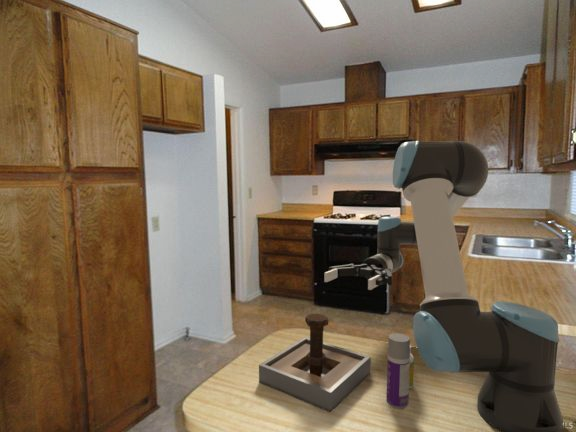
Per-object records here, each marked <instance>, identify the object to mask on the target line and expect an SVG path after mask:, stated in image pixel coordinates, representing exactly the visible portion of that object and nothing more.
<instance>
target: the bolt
mask: <svg viewBox="0 0 576 432" xmlns="http://www.w3.org/2000/svg"><path fill="white" fill-rule="evenodd" d="M304 320H305V322H304V323H306V325H307V327H309V338H310V352H309V353H308V354H307V362H308V363H309V364H310V373H311V374H314V375H316V376H319V377H320V376H321V374H322V365H323V364H324V363H325V362H326V356H325V354H324V353H323V342H324V329H325V328H324V327H326V326H328V325H329V318H328V316H327V315H325V314H323V313H309V314H307V315H306V316H305V319H304Z"/></svg>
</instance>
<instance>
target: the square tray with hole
mask: <svg viewBox="0 0 576 432" xmlns="http://www.w3.org/2000/svg"><path fill="white" fill-rule="evenodd" d="M309 352H310V344H309V343H305V344H303V345H302V346H300V347H298V348H297V349H295V350H294V351H292V352H290V353H289V354H287V355H286V356H284V357H282V358H281V359H279V360H278V361H276V362H275V363H273V364H271V365H270V367H273V368H275V369H278V370H280V371H283V372H286V373H288V374H291V375H294V376H296V377H299V378H301V379H304V380H307V381H309V382H312V383H315V384H317V385H320V386H322V387H325V388H328V389H330V388H331V387H332V386H333V385H334V384H335V383H337V382H338V381H339V380H340V379H341V378H342V377H343V376H344V375H346V374H347V373H348V372H349V371H350V370H351V369H352V368H354V367H355V366H356V365H357V364H358V363H359V362H360V361H361V359H358V358H355V357H351V356H348V355H345V354H342V353H338V352H335V351H332V350H329V349H326V348H323V353H324V354H325V356H326V362H325V363H324V364H323V365H322V367H323V368H326V369H329V370H331V371H330V372H328V373H327V374H326V375H325V376H323V377H319V376H316V375H314V374H311V373H308V372H306V371H303V370H302V369H303V368H305V367H306V366H308V365H309V363H308V362H307V354H308V353H309Z"/></svg>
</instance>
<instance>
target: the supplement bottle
mask: <svg viewBox="0 0 576 432" xmlns="http://www.w3.org/2000/svg"><path fill="white" fill-rule="evenodd" d="M414 363H415V359H414V355H413V354H412V345H411V344H410V368H409V389H411V388H412V387H413V386H414V367H415V365H414Z"/></svg>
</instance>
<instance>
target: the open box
mask: <svg viewBox="0 0 576 432" xmlns="http://www.w3.org/2000/svg"><path fill="white" fill-rule="evenodd" d="M305 343H309V344H310V337H308V336H304V337H302V338H301V339H299V340H298V341H296V342H294V343H293V344H291V345H290V346H288V347H286V348H285V349H282V351H280V352H277V353H276V354H274V355H273V356H271V357H270V358H267V359H266V360H265V361H263V362H262V363H260V364H258V383H259V384H261V385H264V386H267V387H269V388H271V389H272V390H276V391H278V392H280V393H283V394H285V395H288V396H289V397H292V398H295V399H297V400H299V401H302V402H304V403H307V404H309V405H311V406H313V407H316V408H318V409H321V410H323V411H326V412H328V413H332V412H333V411H334V410H335V409H336V408H338V406H339V405H340V404H341V403H342V402H343V401H344V400H345V399H347V397H348V396H349V395H351V393H353V391H355V389H357V388H358V387H359V385H360V384H362V383H363V382H364V381H365V380H366V378H367V377H369V376H370V375H371V365H372V364H371V359H372V358H371V356H370V355H367V354H363V353H360V352H356V351H353V350H350V349H346V348H344V347H341V346H336V345H334V344H330V343H327V342H324V341H323V348H326V349H329V350H332V351H335V352H338V353H342V354H345V355H348V356H351V357H355V358H358V359H361V361H360V362H359V363H358V364H357V365H356V366H355V367H354V368H352V369H351V370H350V371H349V372H348V373H347V374H346V375H344V376H343V377H342V378H341V379H340V380H339V381H338V382H337V383H335V384H334V385H333V386H332V387H331V388H330V389H328V388H325V387H322V386H320V385H317V384H315V383H312V382H309V381H307V380H304V379H301V378H299V377H296V376H294V375H291V374H288V373H286V372H283V371H280V370H278V369H275V368H273V367H270V365H271V364H273V363H275V362H276V361H278V360H279V359H281V358H282V357H284V356H286V355H287V354H289V353H290V352H292V351H294V350H295V349H297V348H298V347H300V346H302V345H303V344H305ZM302 370H303V371H306V372H308V373H310V364H309V365H308V366H306V367H305V368H303V369H302ZM330 371H331V370H329V369H326V368H323V367H322V374H321V376H320V377H323V376H325V375H326V374H327V373H328V372H330Z"/></svg>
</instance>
